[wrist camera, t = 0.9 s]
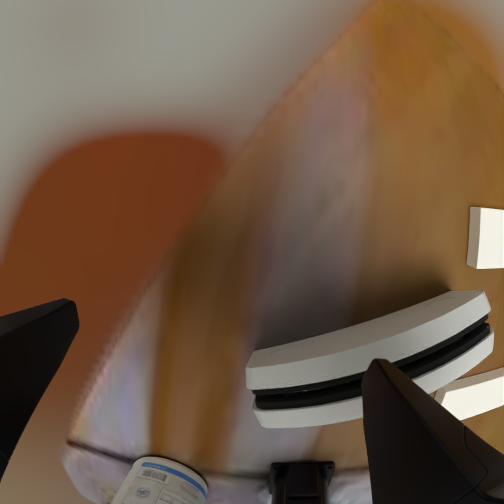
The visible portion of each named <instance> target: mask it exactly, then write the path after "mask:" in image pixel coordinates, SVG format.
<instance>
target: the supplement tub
mask: <svg viewBox="0 0 504 504" xmlns="http://www.w3.org/2000/svg"><path fill="white" fill-rule="evenodd" d="M207 492H208V489H207V485H206V483H205V482H204V480H203V479H202V478H201V477H200V476H199V475H198V474H196V473H195V472H194V471H192V470H191V469H189V468H187V467H186V466H184V465H182V464H179V463H177V462H174V461H171V460H168V459H165V458H160V457H143V458H140V459H138V460H137V461H136V462H135V463H134V464H133V466H132V467H131V469H130V471H129V473H128V474H127V476H126V478H125V479H124V481H123V483H122V484H121V486H120V488H119V490H118V491H117V493H116V495H115V496H114V498H113V500H112V501H111V503H110V504H204V503H205V499H206V496H207Z"/></svg>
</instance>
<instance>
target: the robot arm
mask: <svg viewBox="0 0 504 504" xmlns="http://www.w3.org/2000/svg"><path fill="white" fill-rule="evenodd" d="M78 329H79V318H78V313H77V307H76V304H75V302H74V301H72V300H69V299H66V298H62V299H58V300H55V301H51V302H48V303H44V304H41V305H38V306H35V307H31V308H28V309H25V310H21V311H17V312H14V313H11V314H7V315H4V316H1V317H0V482H1V479H2V477H3V474H4V471H5V469H6V467H7V465H8V463H9V460H10V458H11V456H12V454H13V451H14V449H15V447H16V445H17V443H18V441H19V438H20V437H21V435H22V433H23V431H24V429H25V427H26V425H27V423H28V421H29V419H30V417H31V415H32V414H33V412H34V410H35V408H36V406H37V404H38V403H39V401H40V399H41V397H42V396H43V394H44V392H45V390H46V389H47V387H48V385H49V384H50V382H51V380H52V379H53V377H54V375H55V374H56V372H57V370H58V368H59V367H60V365H61V363H62V361H63V359H64V357H65V355H66V353H67V351H68V349H69V347H70V345H71V343H72V341H73V339H74V337H75V335H76V334H77V332H78ZM361 389H362V405H363V425H364V435H365V441H366V448H367V456H368V463H369V472H370V481H371V490H372V501H373V504H504V455H503V454H502V453H500V452H499V451H498V450H496V449H495V448H493V447H492V446H491V445H489V444H488V443H486V442H485V441H484V440H483V439H481V438H480V437H479V436H478V435H476V434H475V433H474V432H473V431H471V430H470V429H469V428H468V427H467V426H466V425H464V424H463V423H462V422H461V421H460V420H459V419H457V418H456V417H455V416H454V415H453V414H451V413H450V412H449V411H448V410H447V409H445V408H444V407H443V406H442V405H441V404H440V403H438V402H437V401H436V400H435V399H434V398H432V397H431V396H430V395H429V394H428V393H427V392H425V391H424V390H423V389H422V388H421V387H419V386H418V385H417V384H416V383H415V382H413V381H412V380H411V379H410V378H409V377H408V376H406V375H405V374H404V373H403V372H402V371H400V370H399V369H398V368H397V367H396V366H394V365H393V364H392V363H391V362H390V361H388V360H387V359H383V358H375V359H373V360H372V361H371V363H370V365H369V367H368V369H367V371H366V373H365V374H364V376H363V379H362V383H361ZM334 468H335V463H333V462H324V463H273V464H271V468H270V488H269V493H270V494H272V504H329V493H328V487H329V484H330V481H331V478H332V475H333V472H334Z"/></svg>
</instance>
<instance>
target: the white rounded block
mask: <svg viewBox="0 0 504 504" xmlns="http://www.w3.org/2000/svg"><path fill="white" fill-rule="evenodd" d="M490 310H491V308H490V305H489V303H488V300H487V298H486V295H485V293H484V291H449V292H447V293H444V294H442V295H439V296H437V297H434V298H432V299H429V300H426V301H424V302H421V303H419V304H416V305H413V306H411V307H408V308H405V309H402V310H399V311H397V312H394V313H391V314H388V315H385V316H382V317H379V318H376V319H373V320H370V321H367V322H363V323H360V324H357V325H354V326H350V327H347V328H344V329H340V330H337V331H333V332H330V333H326V334H322V335H319V336H315V337H311V338H307V339H303V340H300V341H296V342H291V343H287V344H283V345H279V346H274V347H270V348H266V349H261V350H256V351H253V353H252V355H251V357H250V359H249V361H248V363H247V365H246V367H245V369H246V388H248V389H252V392H253V394H255V397H254V402H253V407H252V409H253V411H254V413H255V415H256V417H257V419H258V421H259V423H260V425H261V426H262V427H265V428H299V427H310V426H320V425H327V424H333V423H338V422H344V421H349V420H353V419H358V418H362V417H363V405H362V389H361V383H362V379H363V376H364V374H365V373H366V371H367V369H368V367H369V365H370V363H371V361H372V360H373V359H375V358H383V359H387V360H388V361H390V362H391V363H392V364H393V365H394V366H396V367H397V368H398V369H399V370H400V371H402V372H403V373H404V374H405V375H406V376H408V377H409V378H410V379H411V380H412V381H413V382H415V383H416V384H417V385H418V386H419V387H421V388H422V389H423V390H424V391H425V392H427V393H428V394H429V393H432V392H433V391H435V390H437V389H439V388H441V387H443V386H445V385H446V384H448V383H450V382H452V381H453V380H455V379H457V378H458V377H460V376H462V375H463V374H465V373H466V372H468V371H469V370H470V369H472V368H473V367H474V366H476V365H477V364H478V363H480V362H481V361H482V360H483V359H484V358H486V357H487V356H488V355H489V354H490V353H491V352H492V351H493V342H494V329H493V328H490V325H489V323H485V321H486V320H487V319H488V313H489V312H490Z"/></svg>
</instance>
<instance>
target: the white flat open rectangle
mask: <svg viewBox="0 0 504 504" xmlns="http://www.w3.org/2000/svg"><path fill="white" fill-rule="evenodd" d="M466 265H469V266H471V267H473V268H476V269H485V268H504V210H498V209H490V208H480V207H470V224H469V242H468V254H467V263H466ZM434 399H435V400H436V401H437V402H438V403H440V404H441V405H442V406H443V407H444V408H445V409H447V410H448V411H449V412H450V413H451V414H453V415H454V416H455V417H456V418H457V419H459V420H462V419H466V418H469V417H472V416H475V415H478V414H481V413H483V412H486V411H489V410H491V409H494V408H497V407H499V406H502V405H504V367H502V368H499V369H495V370H492V371H489V372H485V373H482V374H478V375H474V376H470V377H466V378H462V379H458V380H453V381H452V382H450V383H448V384H446V385H445V386H443V387H441V388H439V389H438V390H437V393H436V395H435V398H434Z"/></svg>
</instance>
